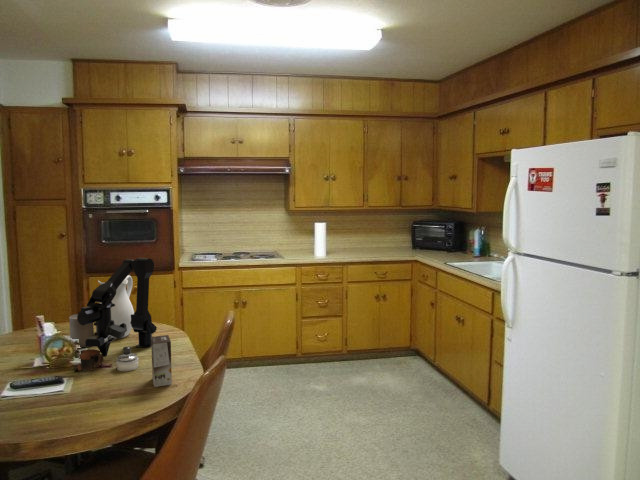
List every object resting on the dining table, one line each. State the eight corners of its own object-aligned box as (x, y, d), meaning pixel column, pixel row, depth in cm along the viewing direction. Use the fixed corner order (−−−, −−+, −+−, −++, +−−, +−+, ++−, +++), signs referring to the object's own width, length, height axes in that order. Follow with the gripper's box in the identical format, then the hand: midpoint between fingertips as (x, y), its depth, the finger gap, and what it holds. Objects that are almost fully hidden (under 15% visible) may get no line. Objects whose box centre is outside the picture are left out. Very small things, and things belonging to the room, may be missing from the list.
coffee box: (172, 384, 178) (171, 341, 176) (153, 387, 175) (152, 343, 173) (169, 375, 186) (168, 334, 184) (151, 378, 184) (150, 336, 182)
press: (125, 361, 201) (125, 353, 201) (145, 362, 200) (144, 353, 200) (112, 371, 190) (112, 362, 190) (132, 371, 190) (132, 363, 189)
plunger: (123, 354, 198) (122, 344, 197) (140, 355, 197) (139, 345, 196) (114, 360, 190) (113, 350, 190) (131, 361, 190) (131, 350, 189)
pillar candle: (99, 342, 225) (97, 310, 223) (85, 349, 215) (83, 316, 214) (79, 341, 226) (78, 309, 225) (65, 348, 217) (63, 315, 215)
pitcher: (122, 342, 226) (120, 282, 223) (88, 339, 229) (86, 281, 226) (148, 327, 249) (147, 273, 246) (118, 325, 252) (116, 272, 249)
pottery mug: (69, 371, 190) (72, 350, 194) (88, 374, 198) (91, 354, 202) (93, 367, 186) (96, 346, 190) (112, 371, 195) (114, 350, 198)
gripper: (110, 326, 188) (112, 365, 190) (133, 314, 207) (134, 350, 209) (83, 325, 189) (84, 364, 191) (108, 313, 208) (109, 349, 210)
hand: (105, 356), depth 200 cm, fingers closed
